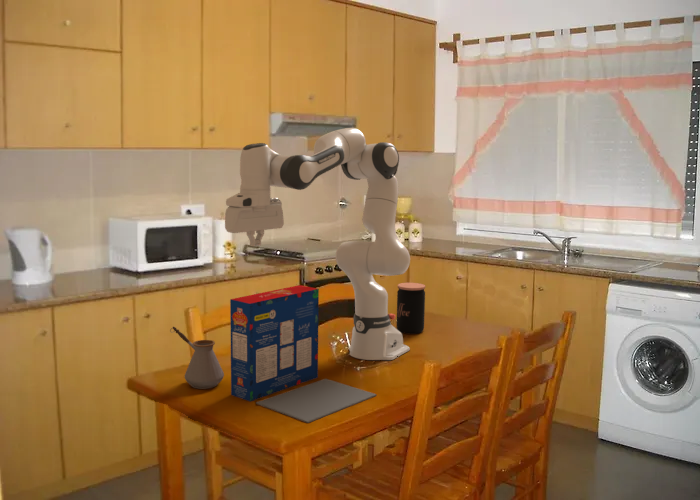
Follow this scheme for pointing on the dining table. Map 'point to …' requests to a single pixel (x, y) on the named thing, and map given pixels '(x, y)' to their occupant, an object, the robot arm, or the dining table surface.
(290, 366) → the cereal box
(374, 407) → the dining table surface
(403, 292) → the coffee jar
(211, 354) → the coffee pot
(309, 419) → the mat
